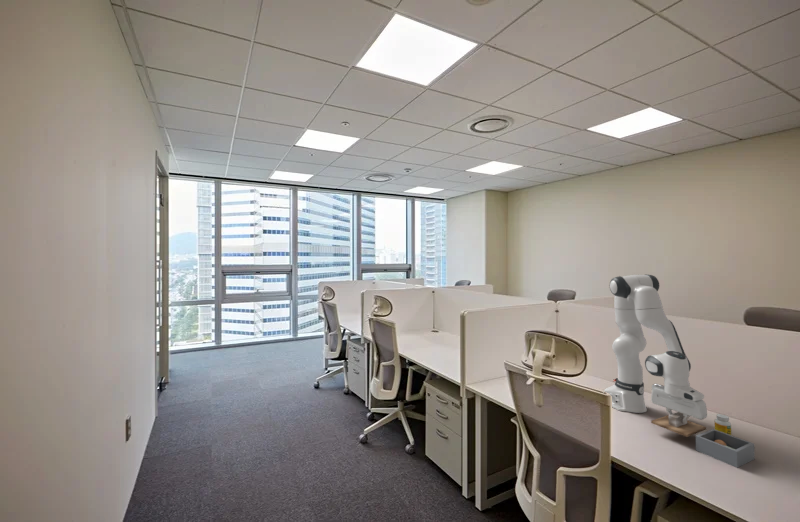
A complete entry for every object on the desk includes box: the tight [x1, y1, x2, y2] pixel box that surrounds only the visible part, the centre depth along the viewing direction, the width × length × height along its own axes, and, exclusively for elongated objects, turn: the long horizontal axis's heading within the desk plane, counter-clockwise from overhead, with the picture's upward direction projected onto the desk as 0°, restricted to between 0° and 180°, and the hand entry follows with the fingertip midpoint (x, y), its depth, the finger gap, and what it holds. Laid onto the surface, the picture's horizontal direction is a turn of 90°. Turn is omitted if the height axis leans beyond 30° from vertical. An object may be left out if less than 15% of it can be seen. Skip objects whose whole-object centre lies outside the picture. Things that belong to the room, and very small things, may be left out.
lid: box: [650, 411, 707, 438], centre depth 152 cm, size 14×14×5 cm
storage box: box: [695, 428, 756, 469], centre depth 138 cm, size 13×13×7 cm
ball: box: [714, 440, 727, 446], centre depth 141 cm, size 4×4×4 cm
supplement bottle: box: [714, 413, 732, 435], centre depth 152 cm, size 5×5×10 cm
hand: (677, 421), depth 152 cm, fingers closed on lid, 3 cm apart
